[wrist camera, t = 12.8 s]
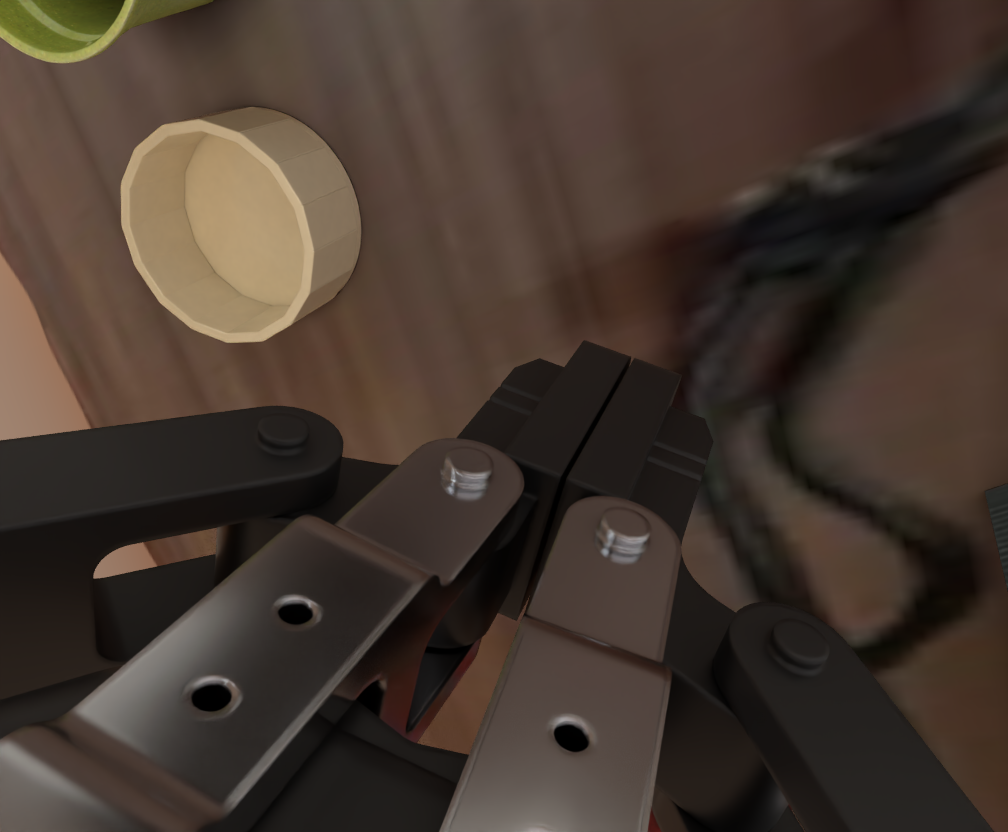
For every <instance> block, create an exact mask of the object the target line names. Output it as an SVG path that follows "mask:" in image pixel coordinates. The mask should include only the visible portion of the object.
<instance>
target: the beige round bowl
mask: <svg viewBox="0 0 1008 832" xmlns="http://www.w3.org/2000/svg"><path fill="white" fill-rule="evenodd" d="M121 183H122V184H121V224H122V229H123V232H124V235H125V238H126V241H127V244H128V247H129V250H130V253H131V256H132V259H133V262H134V265H135V266H136V269H137V270H138V271H139V273H140V274H141V276H142V277H143V279H144V280H145V282H146V283H147V285H148V286H149V288H150V289H151V291H152V292H153V294H154V295H155V296H156V298H157V299H158V301H159V302H160V303H161V304H162V305H163V306H164V307H166V308H167V309H168V310H169V311H170V312H172V313H173V314H174V315H175V316H176V317H178V318H179V319H180V320H181V321H182V322H184V323H185V324H186V325H187V326H189V327H190V328H191V329H193V330H195V331H198V332H200V333H203V334H205V335H208V336H211V337H213V338H216V339H219V340H221V341H224V342H226V343H240V342H262V341H265V340H266V339H268V338H270V337H272V336H273V335H275V334H277V333H278V332H280V331H282V330H283V329H285V328H287V327H289V326H290V325H292V324H293V323H295V322H297V321H298V320H300V319H301V318H303V317H305V316H306V315H308V314H309V313H311V312H312V311H314V310H316V309H317V308H319V307H320V306H322V305H324V304H325V303H327V302H328V301H330V300H332V299H333V298H334V297H335V296H336V294H337V293H338V292H339V291H340V290H341V289H342V288H343V287H344V285H345V284H346V283H347V281H348V280H349V278H350V276H351V274H352V272H353V270H354V268H355V265H356V262H357V259H358V255H359V250H360V244H361V218H360V212H359V206H358V202H357V199H356V195H355V191H354V189H353V186H352V184H351V181H350V179H349V177H348V175H347V173H346V171H345V169H344V167H343V165H342V164H341V162H340V161H339V159H338V158H337V156H336V155H335V153H334V152H333V151H332V150H331V149H330V147H329V146H328V145H327V144H326V143H325V141H324V140H322V139H321V138H320V137H319V136H318V135H317V134H316V133H315V132H314V131H313V130H311V129H310V128H309V127H307V126H306V125H305V124H303V123H302V122H300V121H298V120H296V119H295V118H293V117H291V116H289V115H287V114H284V113H282V112H279V111H276V110H272V109H268V108H260V107H244V108H238V109H233V110H227V111H221V112H216V113H211V114H207V115H203V116H198V117H194V118H190V119H185V120H181V121H176V122H172V123H168V124H163V125H162V126H160V127H159V128H158V129H157V130H156V131H154V132H153V133H152V134H151V135H150V136H148V137H147V138H146V139H145V140H144V141H142V142H141V143H140V144H139V145H138V146H137V147H136V148H135V149H134V151H133V154H132V157H131V159H130V162H129V164H128V167H127V169H126V172H125V174H124V177H123V179H122V182H121Z"/></svg>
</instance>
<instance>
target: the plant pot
mask: <svg viewBox="0 0 1008 832" xmlns="http://www.w3.org/2000/svg"><path fill="white" fill-rule="evenodd" d="M212 1H214V0H0V37H1V38H2V39H4V40H5V41H6V42H8V43H9V44H10V45H12V46H13V47H15V48H17V49H18V50H20V51H21V52H23V53H25V54H27V55H30V56H32V57H34V58H37V59H40V60H43V61H47V62H54V63H73V62H79V61H83V60H86V59H89V58H92V57H94V56H96V55H98V54H100V53H101V52H103V51H104V50H106V49H107V48H108V47H110V46H111V45H112V44H113V43H114V42H115V41H116V40H117V39H118V38H119V37H120V36H121V35H122V34H124V33H125V32H126V31H128V30H129V29H130V28H132V27H135V26H138V25H141V24H144V23H147V22H150V21H153V20H156V19H159V18H163V17H166V16H169V15H172V14H175V13H179V12H182V11H186V10H189V9H192V8H195V7H198V6H201V5H205V4H208V3H210V2H212Z"/></svg>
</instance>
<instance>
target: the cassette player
mask: <svg viewBox="0 0 1008 832" xmlns="http://www.w3.org/2000/svg"><path fill="white" fill-rule="evenodd" d="M985 494H986V499H987V503H988V507H989V512H990V516H991V520H992V525H993V529H994V533H995V538H996V542H997V546H998V551H999V555H1000V560H1001V564H1002V568H1003V573H1004V577H1005V581H1006V586H1007V590H1008V484H1006V485H1003V486H1000V487H996V488H993V489H990V490H987V491H985Z"/></svg>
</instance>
